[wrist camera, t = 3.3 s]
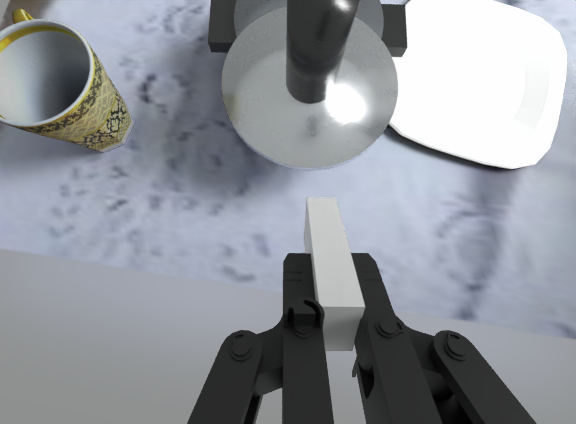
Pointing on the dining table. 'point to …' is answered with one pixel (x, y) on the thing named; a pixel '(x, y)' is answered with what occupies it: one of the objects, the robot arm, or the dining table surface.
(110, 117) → the ceramic cup
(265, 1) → the pot
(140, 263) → the dining table surface
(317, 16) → the lid
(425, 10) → the plate
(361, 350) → the robot arm
